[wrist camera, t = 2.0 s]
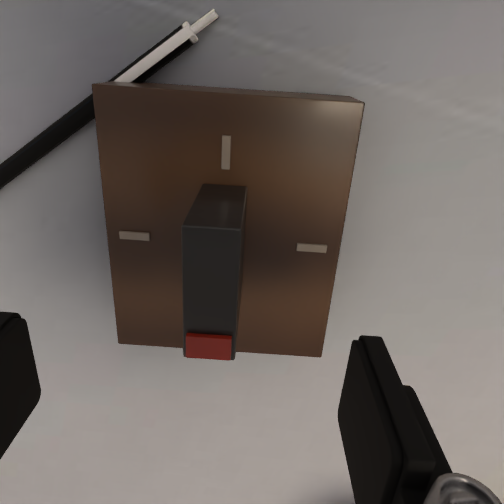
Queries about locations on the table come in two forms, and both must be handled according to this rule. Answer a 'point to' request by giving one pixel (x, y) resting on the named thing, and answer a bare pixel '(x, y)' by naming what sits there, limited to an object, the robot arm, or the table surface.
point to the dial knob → (213, 271)
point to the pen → (85, 109)
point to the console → (226, 173)
